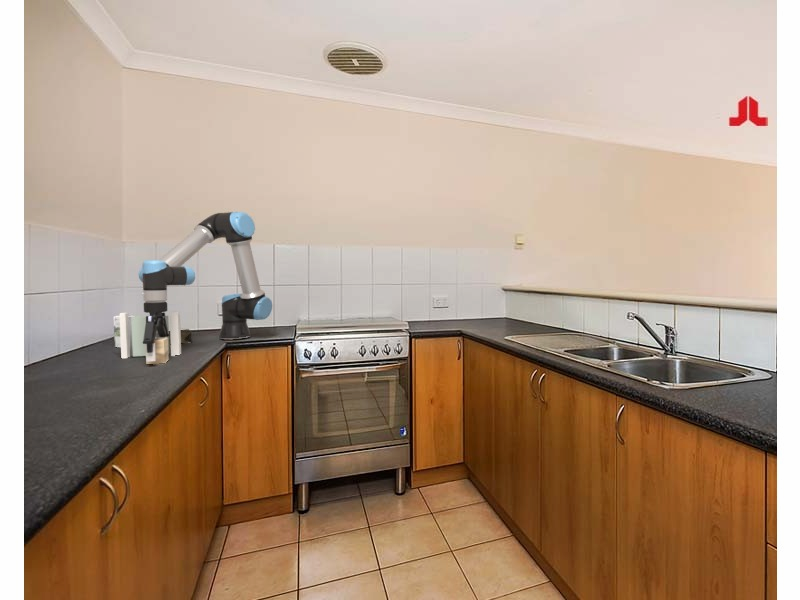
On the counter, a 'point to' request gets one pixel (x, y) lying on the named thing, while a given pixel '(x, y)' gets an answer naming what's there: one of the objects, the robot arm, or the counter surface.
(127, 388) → the counter surface
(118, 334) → the syrup box
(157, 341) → the tan rectangular block
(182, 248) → the robot arm
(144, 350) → the door
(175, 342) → the white piece
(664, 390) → the counter surface
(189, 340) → the beverage carton
